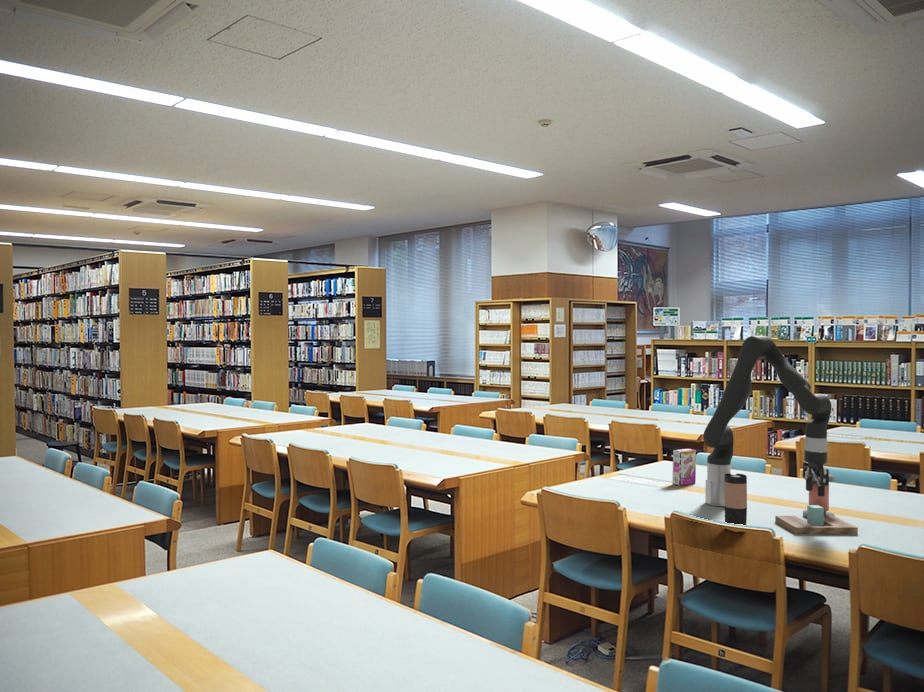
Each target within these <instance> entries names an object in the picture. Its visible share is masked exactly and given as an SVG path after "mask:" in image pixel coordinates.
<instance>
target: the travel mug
mask: <svg viewBox="0 0 924 692" xmlns="http://www.w3.org/2000/svg"><path fill="white" fill-rule="evenodd" d="M747 482H748V475H746V474H743V473H736V474H732V473H731V474H730V473H727V474H725V497H724V505H725V506H723V507H724V509H723V510H724V523H725V522H727V523H734V524H743V525H746V526H747V519H748V518H747V515H748V514H747V513H748V483H747Z"/></svg>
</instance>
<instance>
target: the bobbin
mask: <svg viewBox="0 0 924 692" xmlns="http://www.w3.org/2000/svg"><path fill="white" fill-rule="evenodd" d="M802 478H803V479H804V480H805V478H804V477H803V476H802ZM811 481H813V490H812V491H808V505H819V506H821V507H823V508H824V516H835V517H836V515H835V513H833V512H830V484H829V485H828V486H825V496H824V497H819V496H818V484H817V481H816V480H815V479H814V478H813V480H811ZM835 481H836V475H834V474H830V473H829V483H832V482H835ZM825 482H826V479H825ZM802 517H803V518H805V519H807V509H805V510H803V511H802Z"/></svg>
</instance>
